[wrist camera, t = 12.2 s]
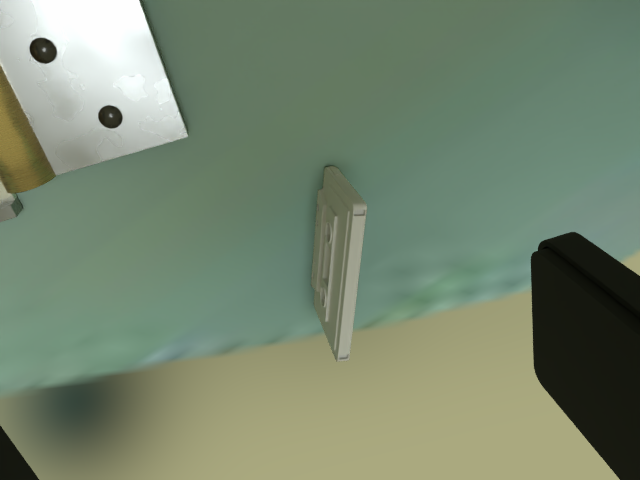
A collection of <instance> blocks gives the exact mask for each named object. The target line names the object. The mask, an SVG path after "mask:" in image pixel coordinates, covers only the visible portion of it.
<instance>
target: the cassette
mask: <svg viewBox="0 0 640 480" xmlns="http://www.w3.org/2000/svg"><path fill="white" fill-rule="evenodd" d="M366 212H367V205H366V203H365V201H364V200H363V199H362V198H361V197H360V195H359V194H358V193H357V192H356V190H355V189H354V188H353V187H352V185H351V184H350V183H349V182H348V180H347V179H346V178H345V177H344V176H343V174H342V173H341V172H340V171H339V169H338V168H337V167H334V166H329V167H325V168H324V180H323V188H322V189H321V190H318V197H317V210H316V224H315V237H314V250H313V264H312V277H311V286H312V287H313V288H314V289H315V294H314V307H315V310H316V312H317V314H318V317H319V319H320V322H321V324H322V327H323V329H324V332H325V334H326V337H327V339H328V342H329V344H330V346H331V349H332V352H333V354H334V356H335V359H336V361H347V360H349V356H350V347H351V338H352V330H353V322H354V313H355V305H356V296H357V288H358V279H359V271H360V262H361V254H362V245H363V237H364V228H365V219H366Z"/></svg>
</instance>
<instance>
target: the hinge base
mask: <svg viewBox="0 0 640 480" xmlns="http://www.w3.org/2000/svg"><path fill="white" fill-rule="evenodd" d="M185 137H188V130H187V127H186V124H185V121H184V119H183V116H182V113H181V110H180V107H179V105H178V102H177V99H176V96H175V93H174V91H173V88H172V85H171V82H170V80H169V77H168V74H167V71H166V68H165V66H164V63H163V60H162V57H161V55H160V52H159V49H158V46H157V43H156V41H155V38H154V35H153V32H152V29H151V27H150V24H149V21H148V18H147V16H146V13H145V10H144V7H143V4H142V2H141V0H0V222H2V221H5V220H8V219H12V218H15V217H17V216H18V214H19V213H20V211H21V210H22V208H23V206H22V204H21V203H20V201H19V199H18V197H17V195H16V194H15V193H20V192H24V191H27V190H30V189H33V188H36V187H38V186H40V185H43V184H45V183H47V182H48V181H50V180H52V179H53V178H54V177H55V176H56V175H59V174H63V173H66V172H69V171H73V170H76V169H80V168H83V167H86V166H90V165H93V164H97V163H100V162H104V161H107V160H110V159H114V158H117V157H121V156H124V155H127V154H131V153H134V152H138V151H141V150H144V149H148V148H151V147H155V146H158V145H161V144H165V143H168V142H172V141H175V140H179V139H182V138H185Z"/></svg>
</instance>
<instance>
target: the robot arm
mask: <svg viewBox="0 0 640 480" xmlns="http://www.w3.org/2000/svg"><path fill="white" fill-rule="evenodd" d="M531 282H532V317H533V353H534V369H535V373H536V375H537V378H538V380H539V382H540V383H541V385H542V386H543V387H544V389H545V390H546V391H547V392H548V393H549V395H550V396H551V397H552V398H553V399H554V401H555V402H556V403H557V404H558V405H559V407H560V408H561V409H562V410H563V411H564V413H565V414H566V415H567V416H568V417H569V419H570V420H571V421H572V422H573V423H574V425H575V426H576V427H577V428H578V429H579V431H580V432H581V433H582V434H583V435H584V437H585V438H586V439H587V440H588V442H589V443H590V444H591V445H592V446H593V447H594V449H595V450H596V451H597V452H598V454H599V455H600V456H601V457H602V458H603V460H604V461H605V462H606V463H607V464H608V466H609V467H610V468H611V469H612V470H613V471H614V473H615V474H616V475H617V476H618V478H619V479H620V480H640V276H639V275H637V274H636V273H635V272H633V271H632V270H630V269H629V268H627V267H626V266H625V265H623V264H622V263H620V262H619V261H617V260H616V259H614V258H613V257H612V256H610V255H609V254H607V253H606V252H604V251H603V250H602V249H600V248H599V247H597V246H596V245H594V244H593V243H591V242H590V241H589V240H587V239H586V238H584V237H583V236H581V235H580V234H578V233H576V232H570V233H567V234H563V235H560V236H557V237H554V238H550V239H547V240H544V241H542V242H541V243H540V244H539V246H538V251H536V252H534V253H533V254H532V256H531ZM0 480H39V479H38V478H37V476H36V475H35V473H34V472H33V470H32V469H31V468H30V466H29V465H28V464H27V462H26V461H25V460H24V458H23V457H22V455H21V454H20V452H19V451H18V450H17V448H16V447H15V445H14V444H13V443H12V441H11V440H10V438H9V437H8V436H7V434H6V433H5V432H4V430H3V429H2V427H1V426H0Z"/></svg>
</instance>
